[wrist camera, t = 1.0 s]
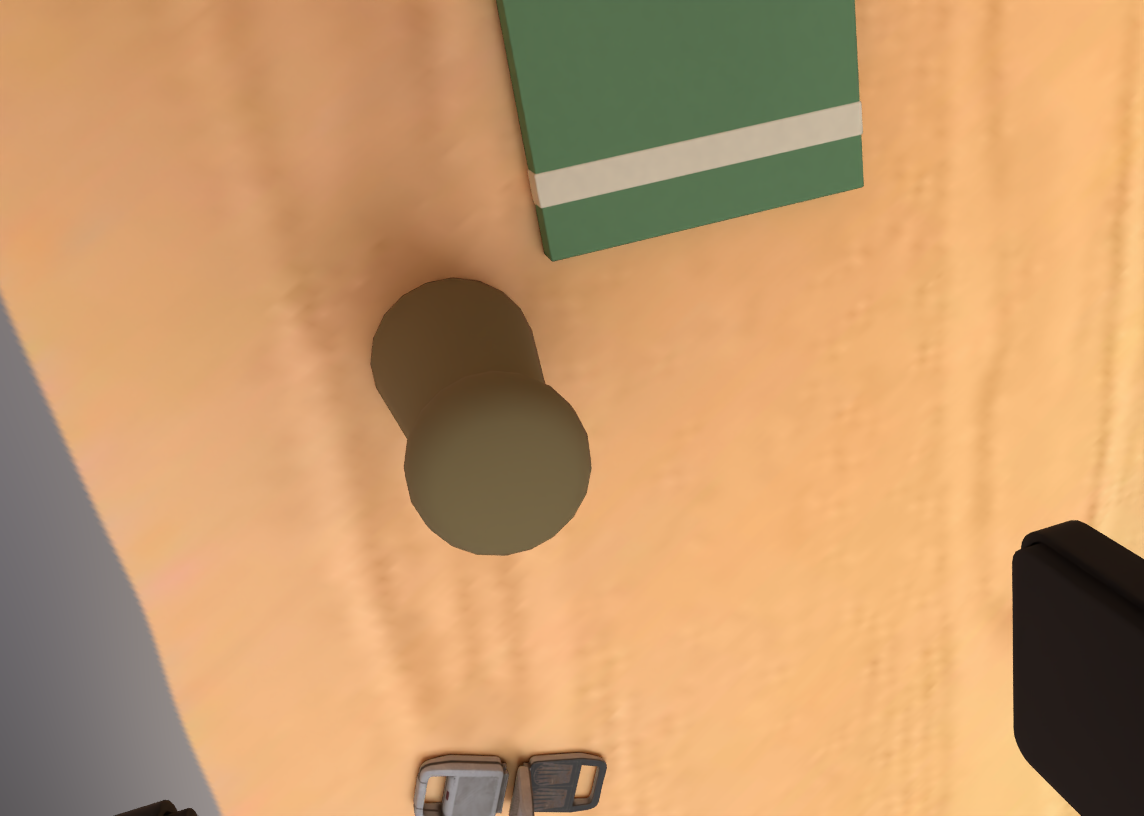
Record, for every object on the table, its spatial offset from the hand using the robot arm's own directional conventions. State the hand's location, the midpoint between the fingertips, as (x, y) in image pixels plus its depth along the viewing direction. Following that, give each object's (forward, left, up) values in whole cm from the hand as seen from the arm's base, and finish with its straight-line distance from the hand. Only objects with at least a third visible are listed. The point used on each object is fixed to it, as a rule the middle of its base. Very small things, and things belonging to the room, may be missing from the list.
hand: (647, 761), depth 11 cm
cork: (+4, 0, -26) cm, 26 cm away
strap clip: (+24, -2, -26) cm, 35 cm away
